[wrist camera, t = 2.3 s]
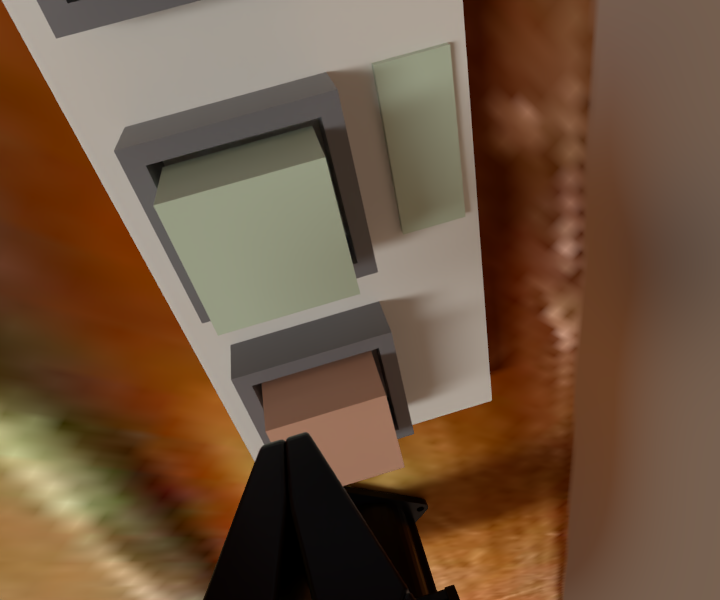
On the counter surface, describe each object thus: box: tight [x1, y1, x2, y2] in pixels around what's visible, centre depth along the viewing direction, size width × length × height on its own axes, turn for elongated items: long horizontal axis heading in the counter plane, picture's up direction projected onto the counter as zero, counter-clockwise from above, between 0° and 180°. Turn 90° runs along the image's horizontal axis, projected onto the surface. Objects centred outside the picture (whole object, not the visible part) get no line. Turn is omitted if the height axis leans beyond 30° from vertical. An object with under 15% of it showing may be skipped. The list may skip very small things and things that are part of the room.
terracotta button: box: [262, 351, 404, 486], centre depth 21 cm, size 4×4×2 cm
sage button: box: [153, 126, 360, 336], centre depth 15 cm, size 4×4×2 cm
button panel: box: [2, 0, 492, 461], centre depth 18 cm, size 28×12×4 cm, turn 12°
